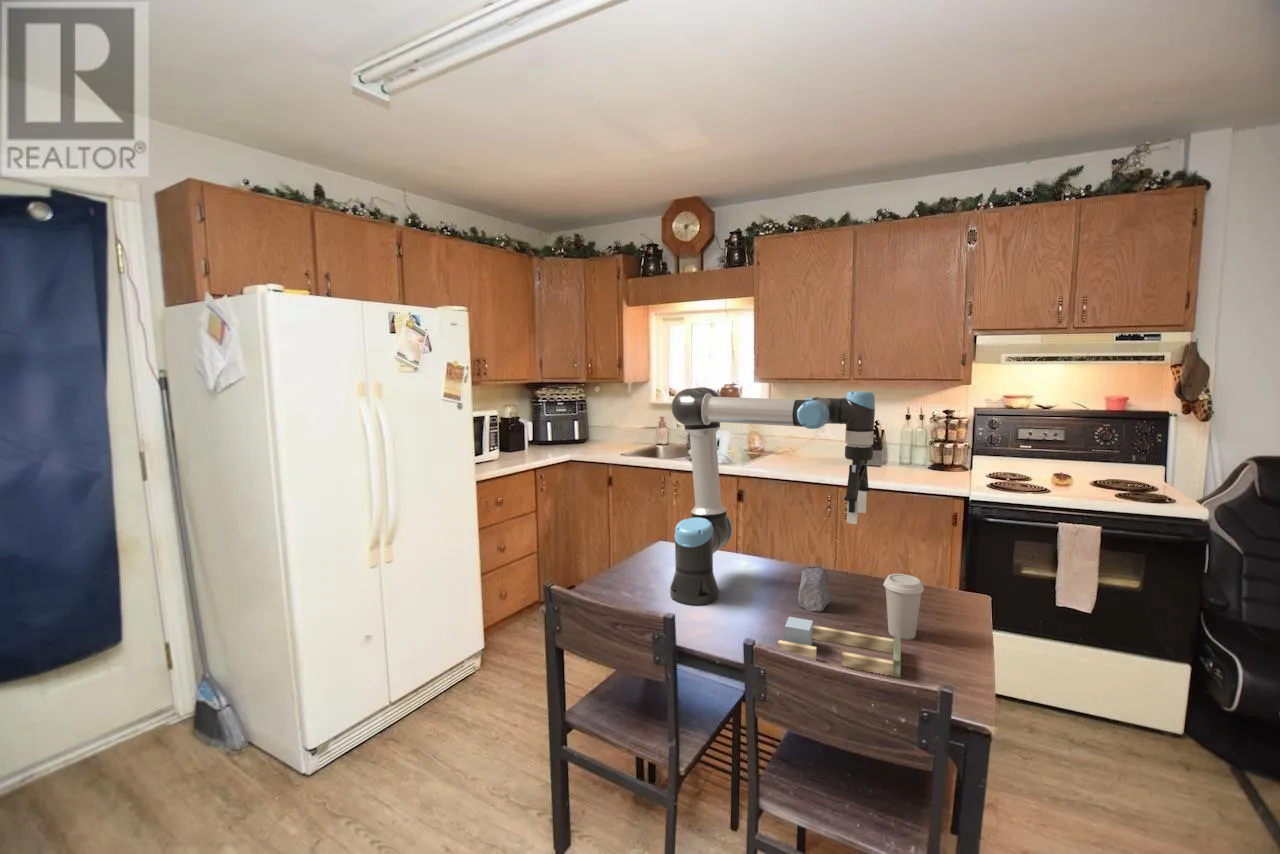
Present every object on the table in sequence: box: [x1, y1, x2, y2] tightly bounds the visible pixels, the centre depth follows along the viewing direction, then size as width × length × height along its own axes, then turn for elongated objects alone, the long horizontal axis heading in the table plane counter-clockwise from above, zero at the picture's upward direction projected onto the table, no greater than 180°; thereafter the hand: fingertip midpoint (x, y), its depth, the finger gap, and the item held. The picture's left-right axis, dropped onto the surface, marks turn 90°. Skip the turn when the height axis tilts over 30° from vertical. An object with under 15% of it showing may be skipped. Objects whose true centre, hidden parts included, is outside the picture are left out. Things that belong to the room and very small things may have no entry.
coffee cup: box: [883, 573, 925, 641], centre depth 147 cm, size 10×10×15 cm
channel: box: [777, 624, 902, 678], centre depth 138 cm, size 28×13×4 cm, turn 65°
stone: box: [797, 566, 831, 612], centre depth 166 cm, size 12×10×10 cm
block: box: [784, 616, 814, 646], centre depth 142 cm, size 6×6×6 cm
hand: (856, 517), depth 162 cm, fingers open, 13 cm apart
